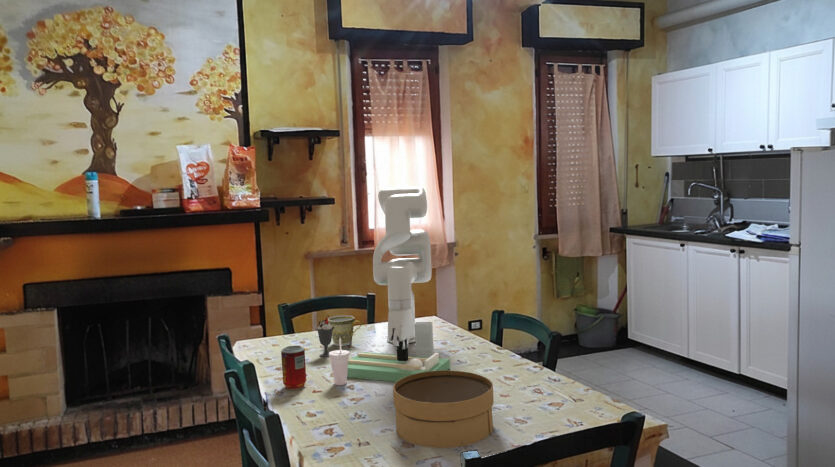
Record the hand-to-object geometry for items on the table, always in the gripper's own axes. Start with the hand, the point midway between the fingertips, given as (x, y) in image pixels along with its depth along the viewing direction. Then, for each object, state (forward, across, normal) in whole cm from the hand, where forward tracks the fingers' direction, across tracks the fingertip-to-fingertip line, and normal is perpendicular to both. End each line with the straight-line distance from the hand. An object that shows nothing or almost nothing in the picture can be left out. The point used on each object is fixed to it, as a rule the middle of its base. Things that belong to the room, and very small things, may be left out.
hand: (402, 360), depth 206 cm
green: (+4, 0, -3) cm, 5 cm away
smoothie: (+4, +15, -14) cm, 21 cm away
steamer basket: (+4, +38, +29) cm, 48 cm away
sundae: (+4, -11, -35) cm, 37 cm away
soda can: (+4, +22, -26) cm, 35 cm away
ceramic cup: (+4, -27, -36) cm, 46 cm away
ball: (+2, 0, +4) cm, 4 cm away
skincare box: (+4, -19, 0) cm, 19 cm away
